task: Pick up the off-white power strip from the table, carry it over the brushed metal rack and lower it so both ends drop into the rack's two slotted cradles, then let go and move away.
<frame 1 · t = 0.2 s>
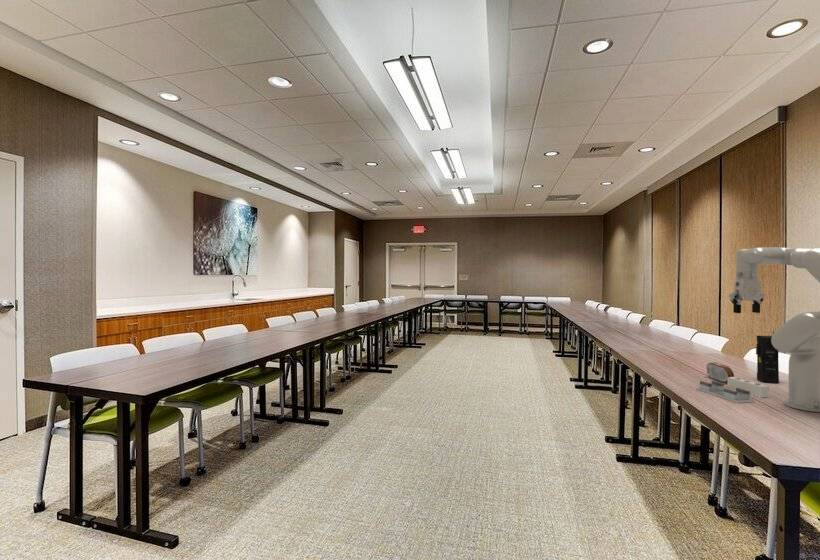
hand: (746, 312, 180), 36 cm above the table, tool pointing down, fingers open, 9 cm apart
tin: (719, 381, 196), on the table
cradle rack: (723, 395, 172), on the table
portable radio: (766, 382, 194), on the table
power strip: (747, 392, 177), on the table
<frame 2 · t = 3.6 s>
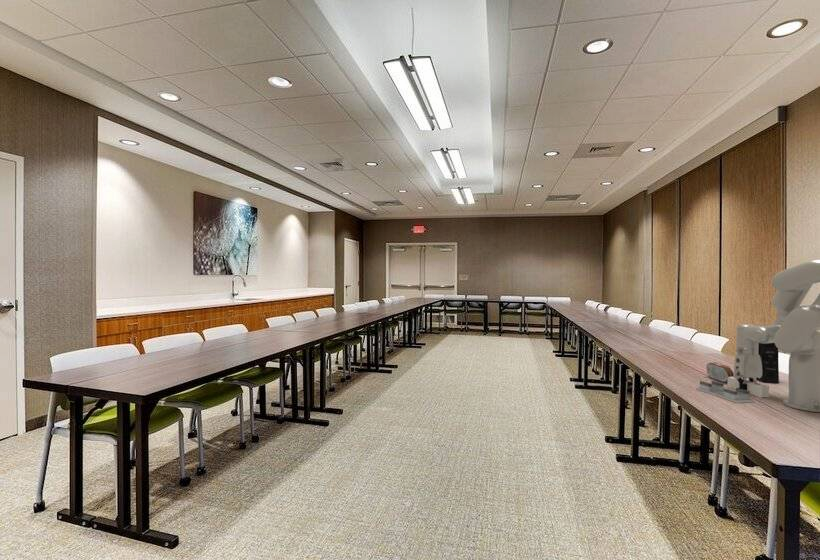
hand: (747, 391, 177), 0 cm above the table, tool pointing down, fingers closed on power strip, 3 cm apart
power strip: (747, 392, 177), on the table, touching gripper
everything else where it was.
when the fingers open (6 cm above the table, at t = 8.5 s): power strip drops 2 cm, resting on cradle rack.
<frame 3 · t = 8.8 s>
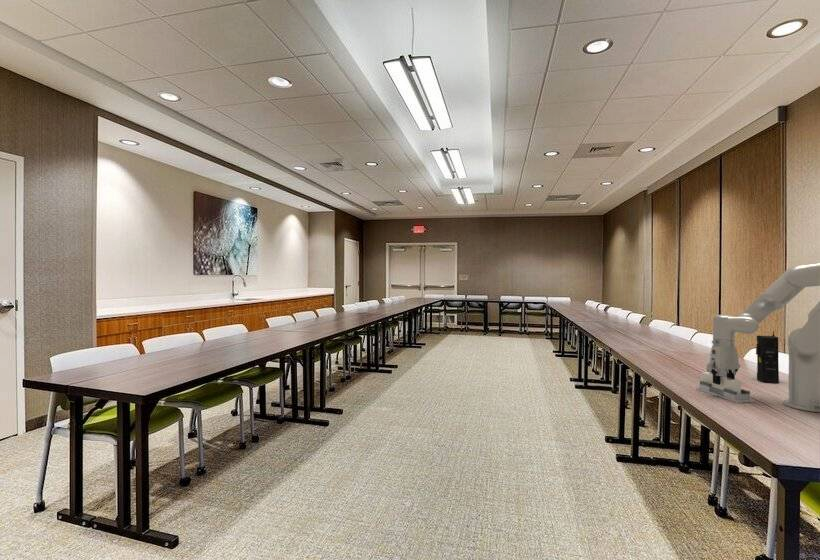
hand: (723, 383, 172), 5 cm above the table, tool pointing down, fingers open, 6 cm apart
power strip: (720, 387, 173), point 3 cm above the table, touching cradle rack
everything else where it was.
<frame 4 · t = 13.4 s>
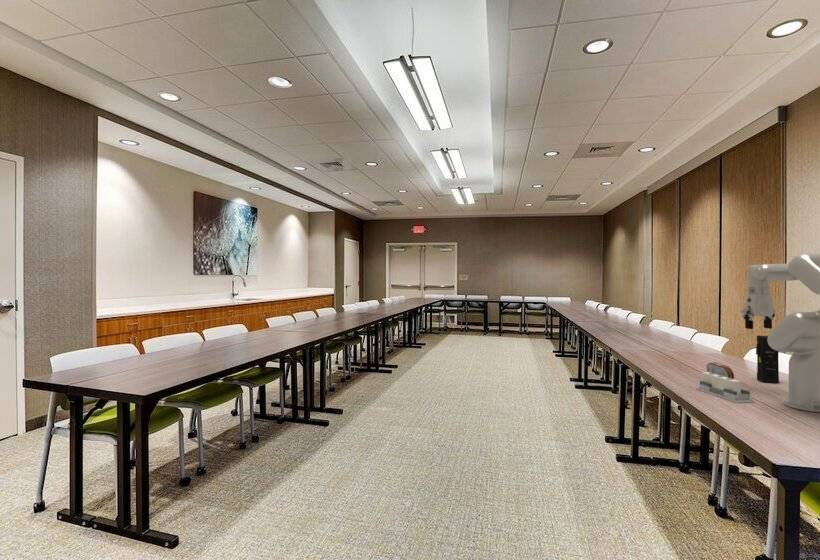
hand: (758, 328, 181), 28 cm above the table, tool pointing down, fingers open, 9 cm apart
nothing on the table moved.
at the end: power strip 1.4 cm off-centre on the cradle rack, point 3.0 cm above the cradle rack's base; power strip tilted 0°; the gripper is holding nothing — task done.
